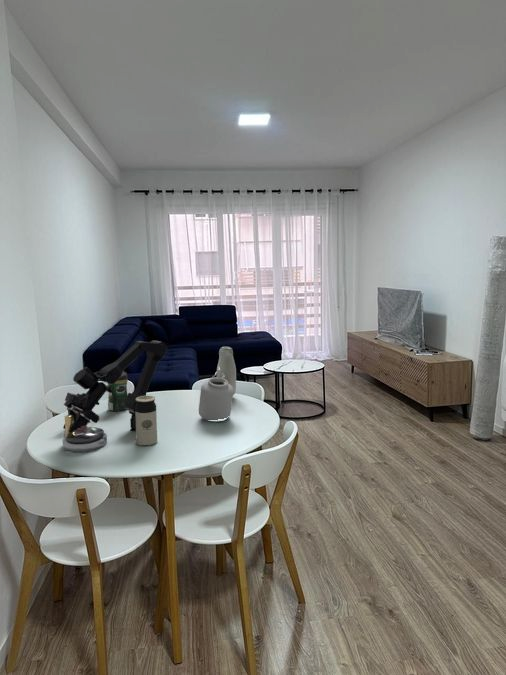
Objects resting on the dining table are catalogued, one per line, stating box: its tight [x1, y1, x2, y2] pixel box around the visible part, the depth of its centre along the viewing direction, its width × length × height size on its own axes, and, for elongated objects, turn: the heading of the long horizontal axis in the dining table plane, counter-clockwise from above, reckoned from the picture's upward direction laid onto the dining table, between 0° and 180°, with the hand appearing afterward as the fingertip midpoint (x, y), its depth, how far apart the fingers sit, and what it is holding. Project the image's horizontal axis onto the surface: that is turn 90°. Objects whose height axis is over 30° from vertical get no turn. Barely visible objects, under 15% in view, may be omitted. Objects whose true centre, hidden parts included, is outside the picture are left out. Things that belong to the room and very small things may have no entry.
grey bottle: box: [216, 346, 237, 396], centre depth 234 cm, size 10×10×28 cm
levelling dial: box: [64, 414, 105, 444], centre depth 169 cm, size 14×14×10 cm
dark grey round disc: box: [62, 432, 108, 454], centre depth 170 cm, size 16×16×3 cm
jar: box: [198, 369, 234, 421], centre depth 198 cm, size 19×15×25 cm
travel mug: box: [135, 395, 158, 446], centre depth 171 cm, size 8×8×18 cm
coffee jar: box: [107, 371, 129, 412], centre depth 214 cm, size 10×8×19 cm
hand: (66, 430), depth 164 cm, fingers open, 4 cm apart
